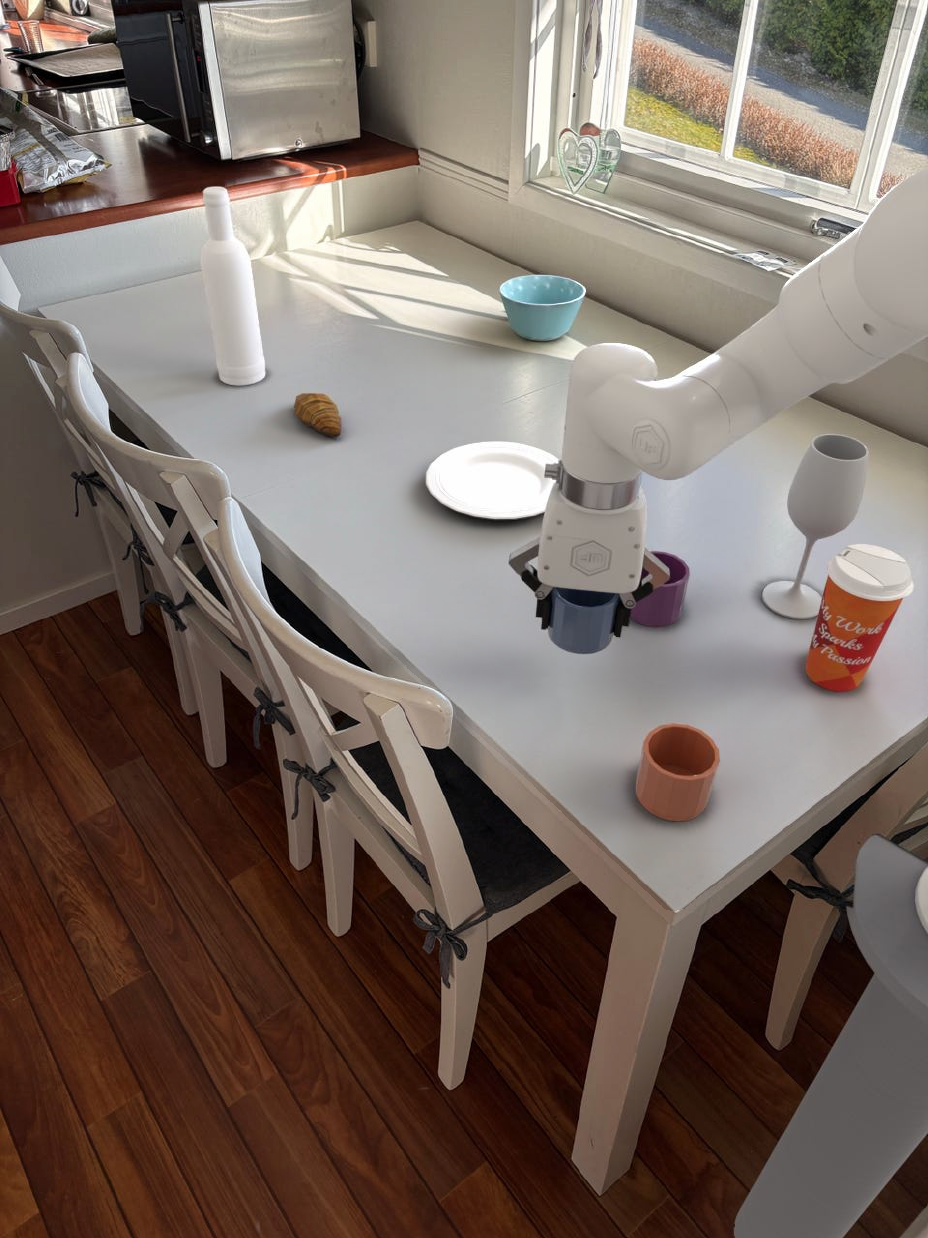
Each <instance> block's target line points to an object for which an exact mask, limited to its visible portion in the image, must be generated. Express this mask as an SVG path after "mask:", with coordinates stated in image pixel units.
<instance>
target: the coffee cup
mask: <svg viewBox="0 0 928 1238" xmlns="http://www.w3.org/2000/svg"><path fill="white" fill-rule="evenodd" d="M826 571H827V577H826V582H825V584H824V588H823V591H822V596H821V598H822V600H821V604H820V609H819V613H818V615H817V616H816V617H817V618H816V621H815V624H814V629H813V633H812V637H811V641H810V644H809V649H808V652H807V653H808V654H807V658H806V663H805V672H806V675H807V676H808V678H809V679H810V680H811V681H812V682H813V683H814V684H816V685H817V686H819V687H821V688H823V689H825V690H828V691H831V692H838V693H845V692H846V693H847V692H851V691H854V690H856V689H857V688H858V687H859V686H860V685H861V683H862V682H863V680H864V678H865V676H866V674H867V672H868V670H869V668H870V666H871V664H872V662H873V660H874V659H875V656H876V654H877V652H878V650H879V648H880V646H881V644H882V642H883V640H884V639H885V636H886V634H887V632H888V630H889V628H890V626H891V624H892V622H893V620H894V618H895V616H896V614H897V612H898V609H899V608H900V606H901V604H902V601H903V600H904V598H907V597H909V596H910V595H911V594H912V592H913V591H914V588H915V585H914V582H913V577H912V575H911V568H910V565H909V564H908V562H907V561H906V559H904V558H903V557H902V556H901V555H899V554H897V553H896V552H895V551H892V550H890V549H888V548H885V547H882V546H878V545H874V544H866V543H857V544H849V545H847V546H845V547H844V548H842V550H840V551H839V552H837V553H836V554H835V555H834V556H832V557H831V558H830V559H829V561H828V563H827V565H826Z"/></svg>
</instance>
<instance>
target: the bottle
mask: <svg viewBox="0 0 928 1238" xmlns="http://www.w3.org/2000/svg"><path fill="white" fill-rule="evenodd" d="M202 195H203V197H202V202H203V204H204V207H205V214H206V220H207V227H208V233H209V238H208V239H207V241H206V242H205V243H204V244H203V246H202V248H201V251H200V258H199V263H200V269H201V274H202V281H203V288H204V294H205V300H206V305H207V312H208V317H209V324H210V330H211V335H212V342H213V347H214V353H215V361H216V368H217V372H218V378H219V380H220V381H221V382H223V383H224V384H227V385H229V386H237V387H241V386H250V385H254V384H256V383H259V382H261V381H262V380H263V379H264V378H265V376H266V361H265V357H264V352H263V343H262V335H261V327H260V321H259V320H260V319H259V313H258V307H257V297H256V290H255V283H254V276H253V267H252V261H251V257H250V255H249V252H248V250H247V248H246V246H245V245H244V243H243V242H242V241H240V240H239V238H237V236H235V235H234V228H233V222H232V215H231V206H230V202H231V199H230V196H229V192H228V189H227V188H225V187H223V186H207V187H206V188H204V189H203V190H202Z"/></svg>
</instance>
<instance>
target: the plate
mask: <svg viewBox="0 0 928 1238" xmlns="http://www.w3.org/2000/svg"><path fill="white" fill-rule="evenodd" d="M558 460H560V459H559V458H558V457H556V456H555V455H554V454H552V453H550V452H547V451H545V450H543V449H541V448H538V447H535V446H531V445H527V444H523V443H519V442H510V441H480V442H474V443H468V444H467V443H466V444H465V445H461V446H457V447H454V448H451V449H450V450H448V451H446V452H444V453H442V454H440V455H439V456H438V457H437V458H435V459H434V461H432V462H431V463H430V464H429V466H428V468H427V470H426V472H425V486H426V489H428V492H429V494H430V496H431V497H433V498H434V499H435V500H436V501H437V502H438V503H439V504H440V505H442V506H444V507H446V508H448V509H449V510H452V511H454V512H456V513H458V514H460V515H461V514H462V515H464V516H468V517H470V518H475V519H482V520H490V521H517V520H523V519H528V518H529V519H530V518H534V517H537V516H539V515H540V516H541V515H542V514H545V509H546V504H547V501H548V498H549V495H550V492H551V489H552V487H553V484H554V483H555V482H556V480H552V478H544V475H545V465H546V464H554V463H558Z"/></svg>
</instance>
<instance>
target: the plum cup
mask: <svg viewBox="0 0 928 1238" xmlns="http://www.w3.org/2000/svg"><path fill="white" fill-rule="evenodd" d="M649 551H650V552H651V553H652V554H653V555H654V556H655V557H657V558H658V559H659V560H660V561H661V562H662V563H663V564H664V565H666V566H667V567H668V568H669V572H670V579H669V580H668V581H667V582H665V583H664V584H662V585H661V586H660V587H658V588H655V589H654V590H653V592H652V593H651V594H650V595H648V596H646V597H645V598H643V599H641V600H640V601H638V602H636V605H635V607H633V608H632V609H631V615H630V620H632V621H633V622H635V623H637V624H639V625H641V626H646V627H650V628H651V627H652V628H662V627H667V626H670V625H673V624H675V623H676V622H677V621H679V619H680V618H681V616H682V612H683V609H684V604H685V599H686V595H687V589H688V585H689V580H690V576H691V573H690V567H689V565H688V564H687V563H686V562H685V560H683V559H682V558H680V557H679V556H678V555H675V554H672V553H670V552H667V551H660V550H659V551H658V550H649ZM649 574H650V573H649V572H648V571H647V570H645V569H644V568H643V567H642V571H641V577H640V579H641V578H642V577H644V576H648V575H649ZM631 576H632V575H631Z"/></svg>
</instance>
